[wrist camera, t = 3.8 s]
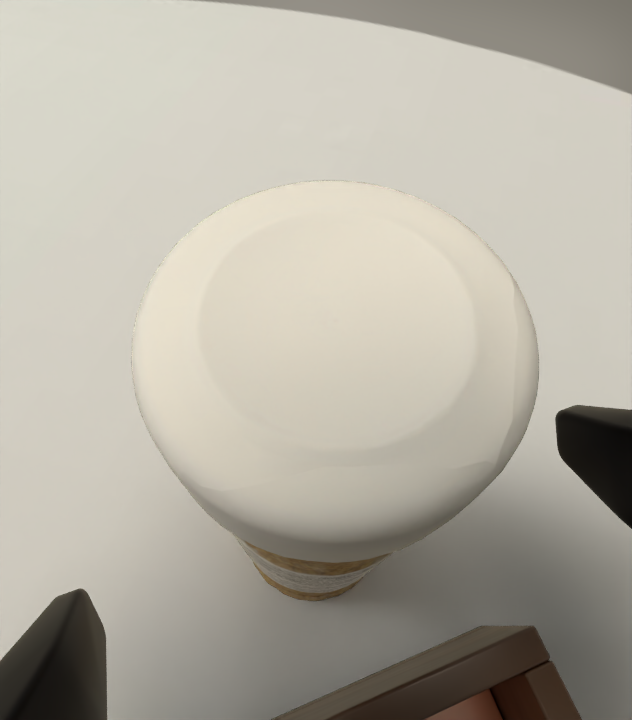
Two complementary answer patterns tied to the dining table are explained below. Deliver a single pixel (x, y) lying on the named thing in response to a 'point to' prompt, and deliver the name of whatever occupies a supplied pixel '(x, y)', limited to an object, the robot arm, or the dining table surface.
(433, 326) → the sprinkles bottle
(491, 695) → the wooden divided tray
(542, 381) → the dining table surface
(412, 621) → the dining table surface
